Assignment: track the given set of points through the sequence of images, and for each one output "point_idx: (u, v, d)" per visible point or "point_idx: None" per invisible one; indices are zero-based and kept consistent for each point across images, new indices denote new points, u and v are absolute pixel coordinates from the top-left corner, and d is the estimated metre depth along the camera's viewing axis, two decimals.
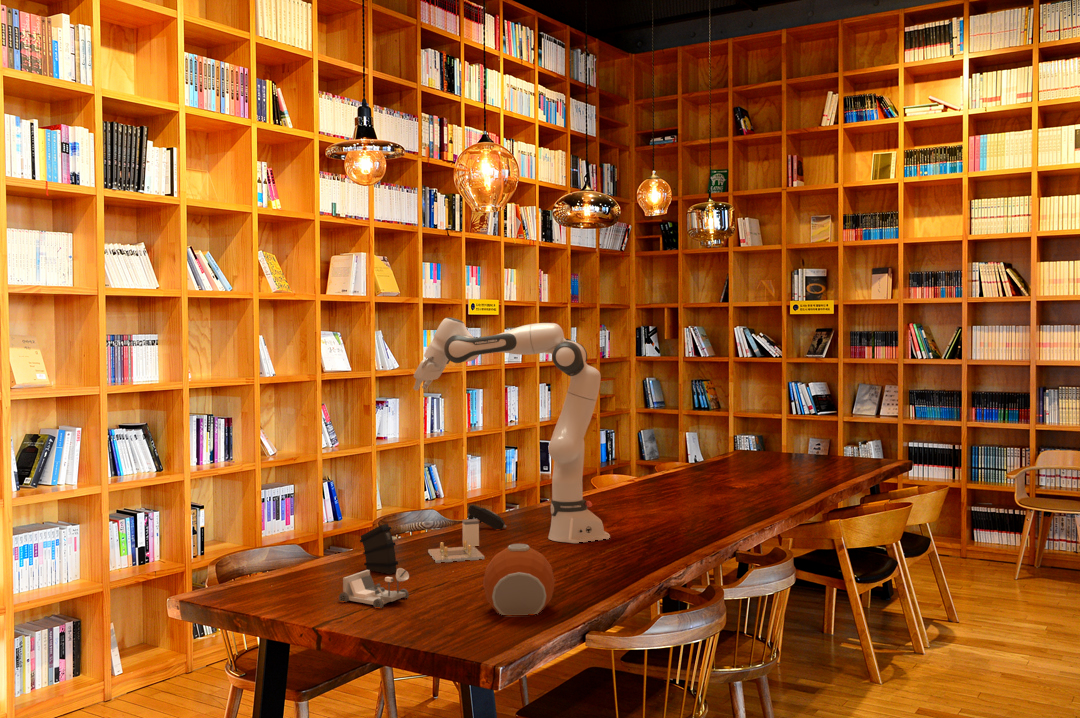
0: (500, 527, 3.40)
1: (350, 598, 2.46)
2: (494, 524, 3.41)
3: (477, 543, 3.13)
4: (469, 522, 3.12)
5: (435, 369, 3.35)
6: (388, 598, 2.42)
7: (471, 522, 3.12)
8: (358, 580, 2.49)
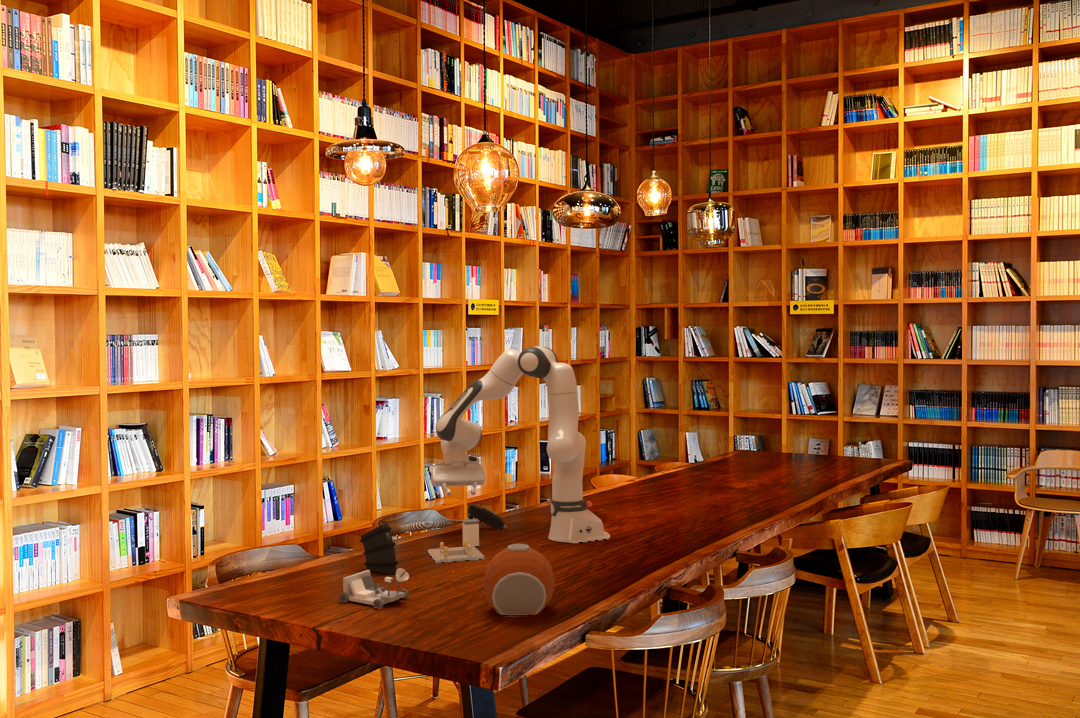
0: (500, 527, 3.40)
1: (350, 598, 2.46)
2: (494, 524, 3.41)
3: (477, 543, 3.13)
4: (469, 522, 3.12)
5: (461, 471, 3.32)
6: (388, 598, 2.41)
7: (471, 522, 3.12)
8: (358, 580, 2.49)
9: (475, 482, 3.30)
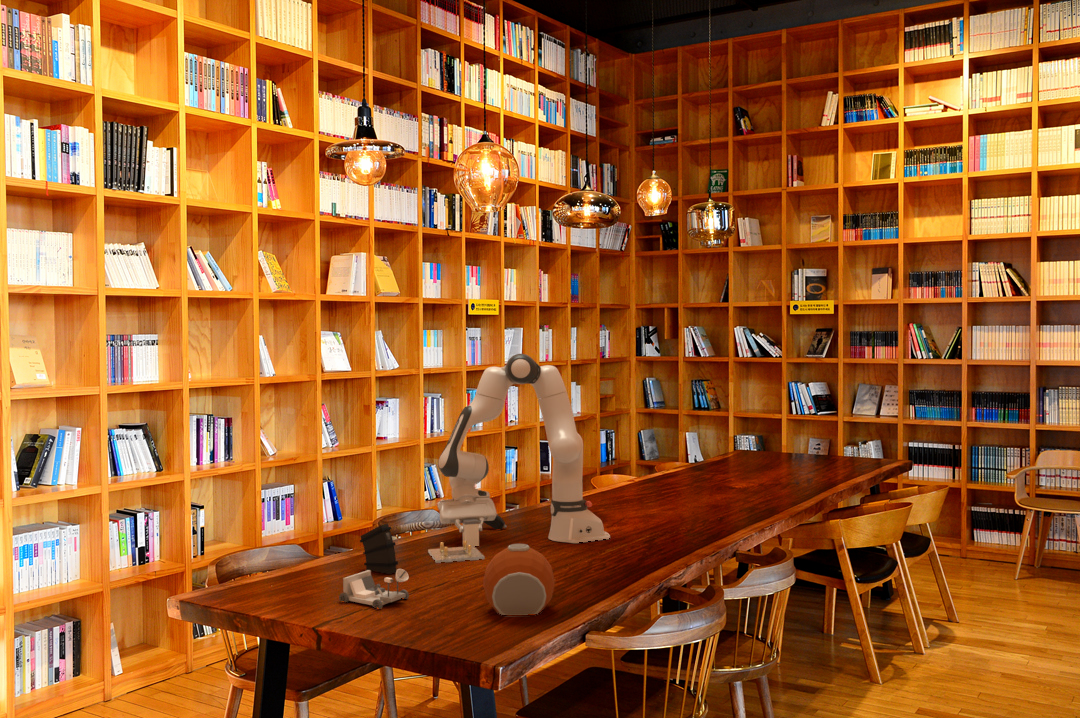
0: (500, 527, 3.40)
1: (350, 598, 2.46)
2: (494, 524, 3.40)
3: (477, 542, 3.13)
4: (469, 522, 3.12)
5: (471, 506, 3.19)
6: (387, 599, 2.41)
7: (471, 522, 3.12)
8: (358, 580, 2.49)
9: (481, 518, 3.17)
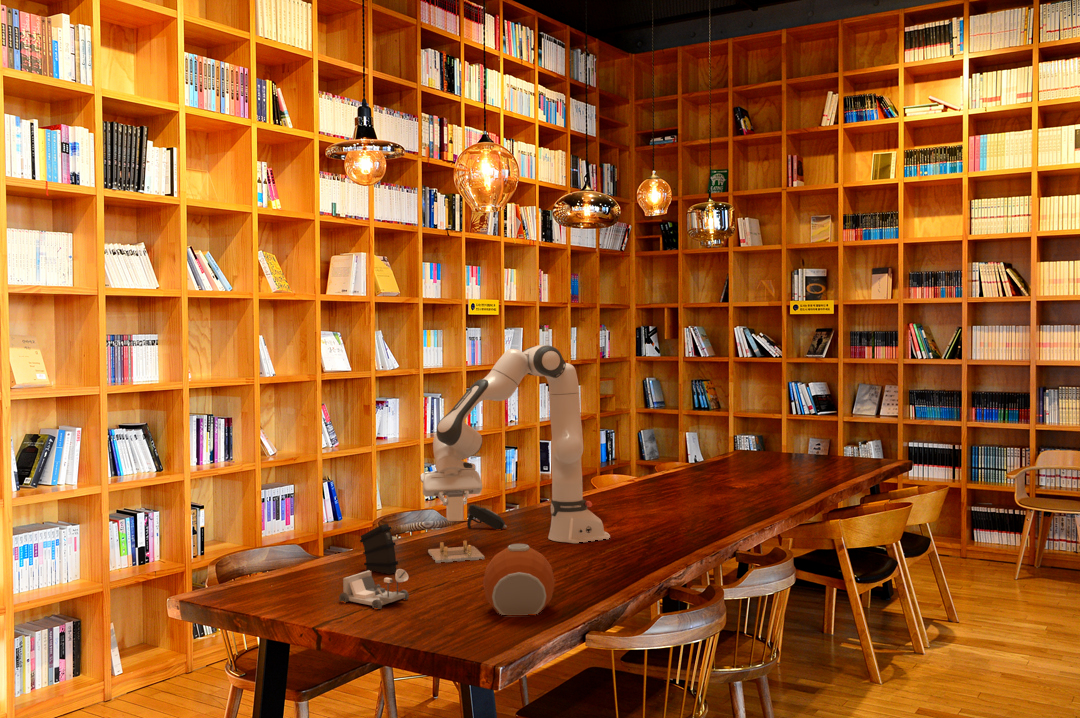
0: (500, 527, 3.40)
1: (350, 598, 2.45)
2: (494, 524, 3.40)
3: (462, 516, 2.98)
4: (453, 494, 2.97)
5: (455, 478, 3.04)
6: (387, 599, 2.41)
7: (455, 494, 2.98)
8: (358, 581, 2.49)
9: (466, 491, 3.02)
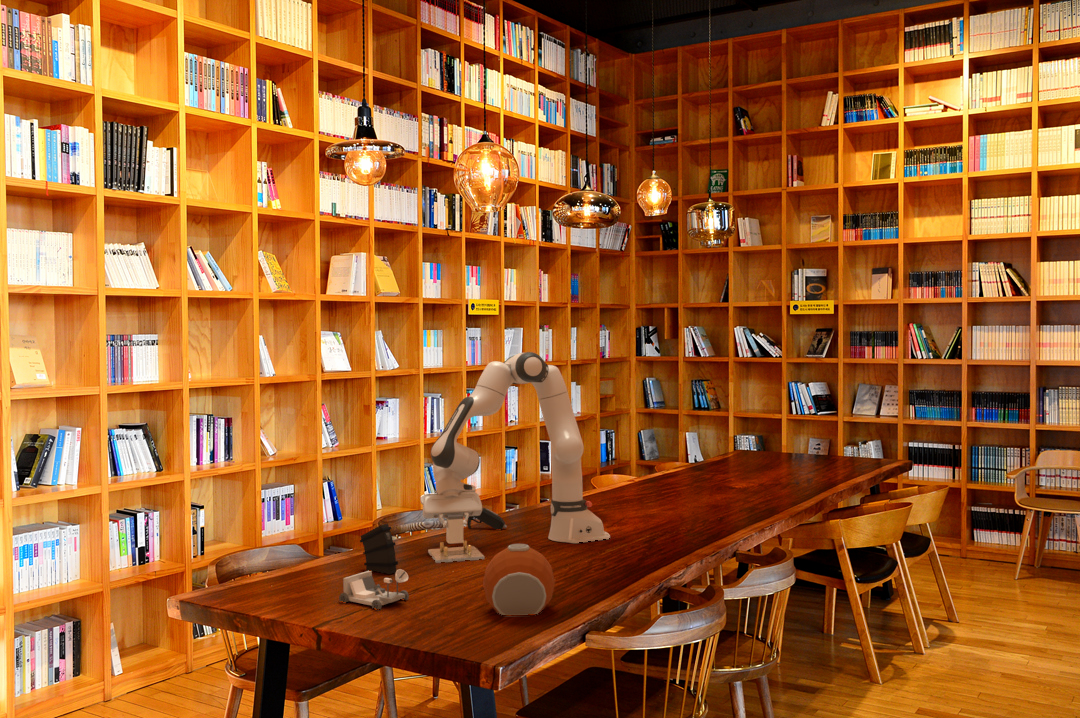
0: (500, 527, 3.40)
1: (350, 598, 2.45)
2: (494, 524, 3.40)
3: (462, 539, 2.98)
4: (453, 517, 2.97)
5: (455, 500, 3.04)
6: (386, 599, 2.40)
7: (455, 517, 2.97)
8: (359, 581, 2.49)
9: (466, 513, 3.02)
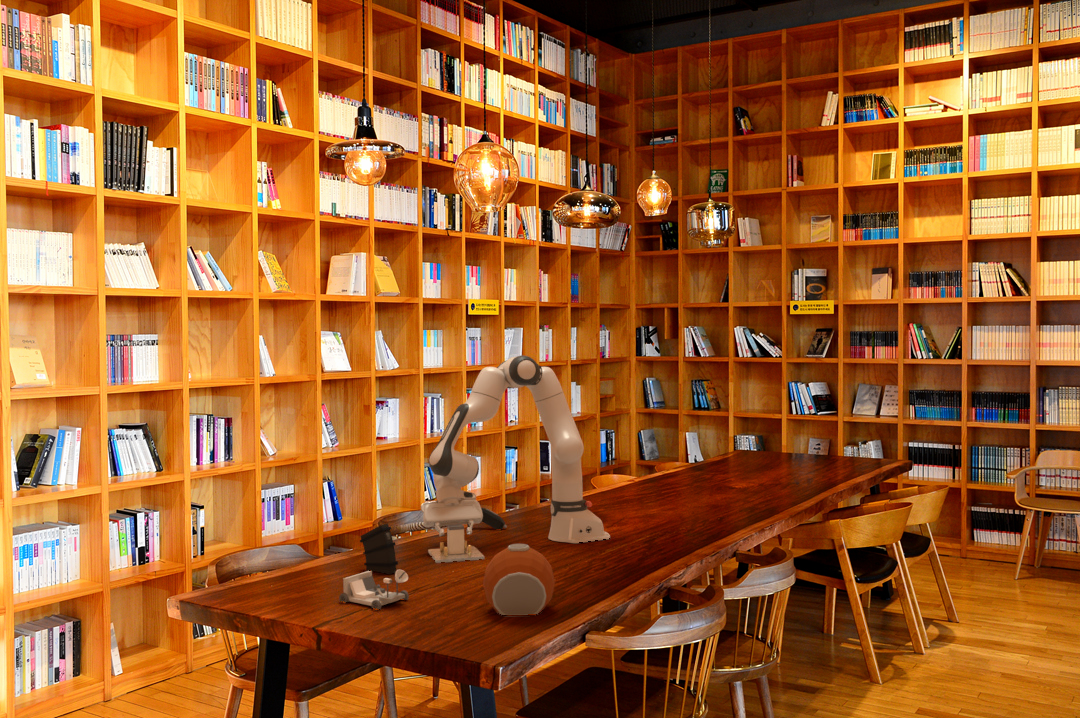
0: (500, 527, 3.40)
1: (350, 599, 2.45)
2: (494, 524, 3.40)
3: (463, 549, 2.98)
4: (454, 527, 2.97)
5: (456, 508, 3.04)
6: (386, 599, 2.40)
7: (456, 527, 2.98)
8: (359, 581, 2.48)
9: (471, 520, 3.03)
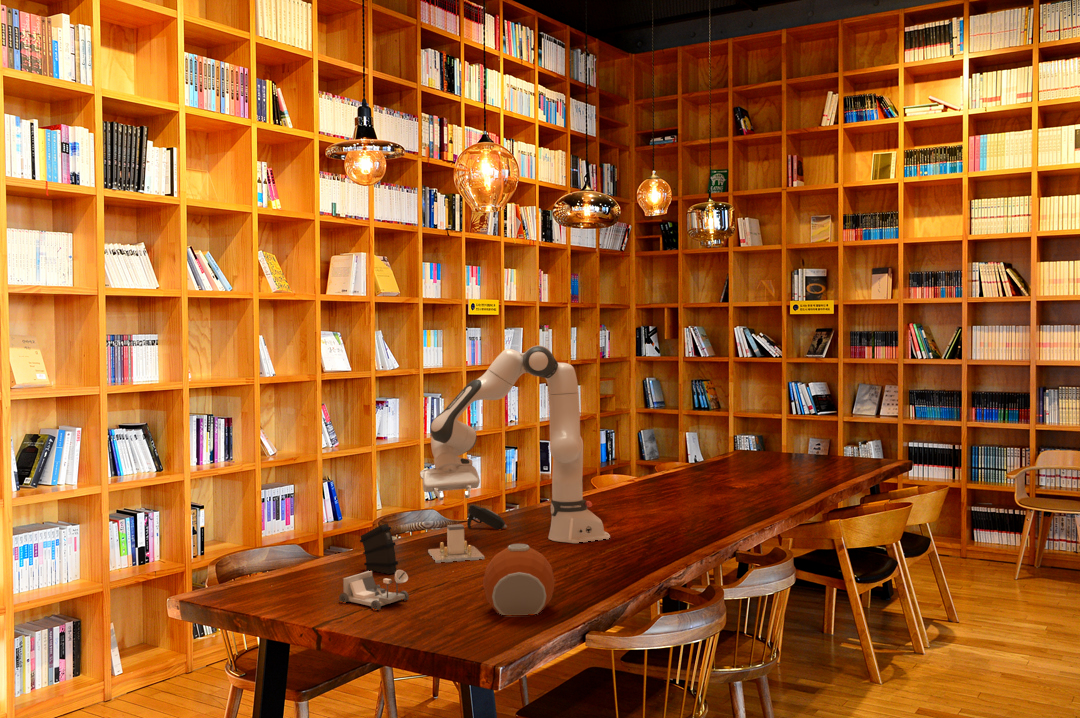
0: (500, 527, 3.40)
1: (350, 599, 2.45)
2: (494, 524, 3.40)
3: (463, 549, 2.98)
4: (454, 527, 2.97)
5: (454, 474, 3.18)
6: (386, 600, 2.40)
7: (456, 527, 2.98)
8: (359, 581, 2.48)
9: (468, 485, 3.16)
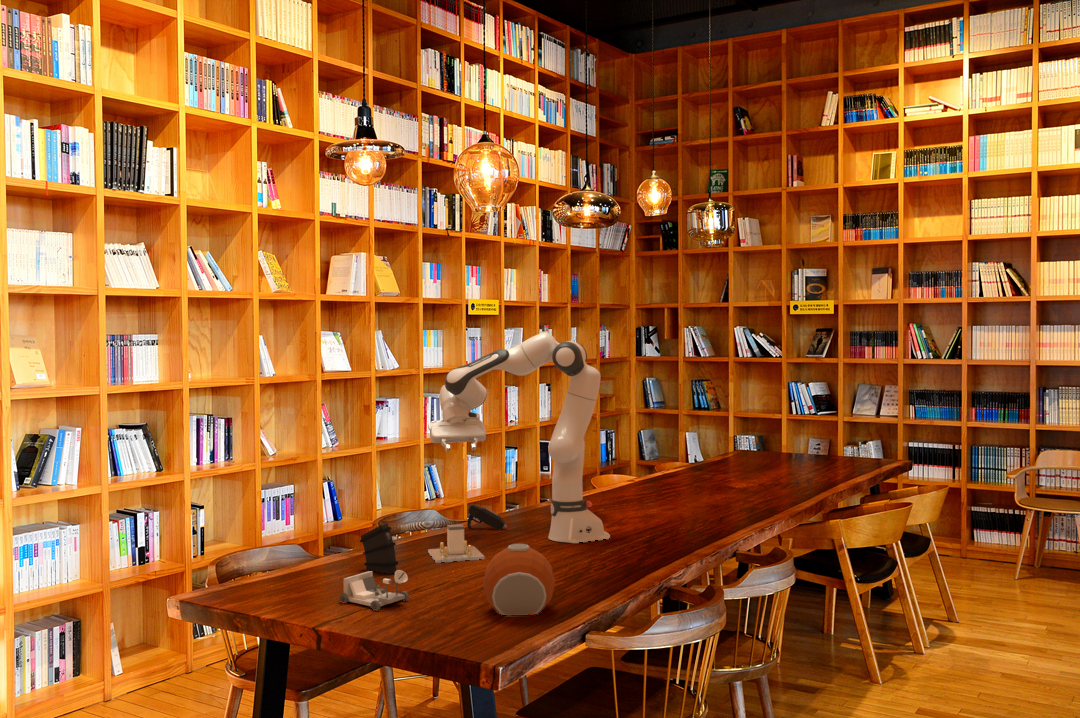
0: (500, 527, 3.40)
1: (350, 599, 2.45)
2: (494, 524, 3.40)
3: (463, 549, 2.98)
4: (454, 527, 2.97)
5: (461, 427, 3.24)
6: (385, 600, 2.40)
7: (456, 527, 2.98)
8: (359, 581, 2.48)
9: (475, 438, 3.22)
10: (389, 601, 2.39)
